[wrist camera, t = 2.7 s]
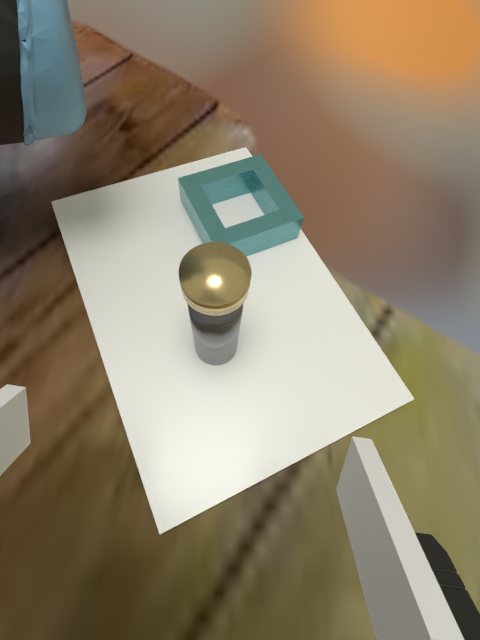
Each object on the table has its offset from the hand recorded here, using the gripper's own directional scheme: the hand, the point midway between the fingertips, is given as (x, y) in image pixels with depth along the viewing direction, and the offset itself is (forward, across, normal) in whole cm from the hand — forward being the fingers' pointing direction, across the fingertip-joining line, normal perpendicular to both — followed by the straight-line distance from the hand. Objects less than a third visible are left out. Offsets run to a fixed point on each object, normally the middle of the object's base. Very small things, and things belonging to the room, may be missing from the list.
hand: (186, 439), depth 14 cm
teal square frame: (+25, 0, +7) cm, 26 cm away
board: (+20, -1, 0) cm, 20 cm away
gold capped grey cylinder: (+15, 0, -3) cm, 16 cm away
